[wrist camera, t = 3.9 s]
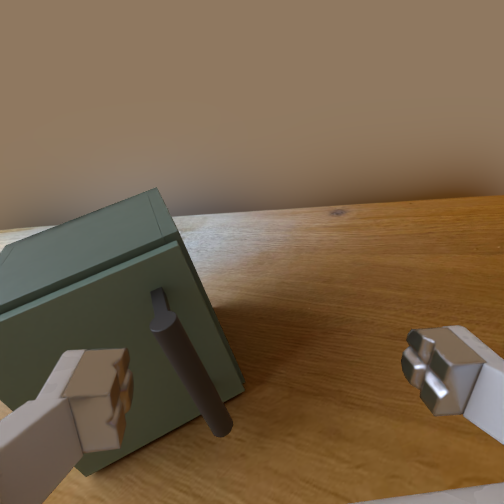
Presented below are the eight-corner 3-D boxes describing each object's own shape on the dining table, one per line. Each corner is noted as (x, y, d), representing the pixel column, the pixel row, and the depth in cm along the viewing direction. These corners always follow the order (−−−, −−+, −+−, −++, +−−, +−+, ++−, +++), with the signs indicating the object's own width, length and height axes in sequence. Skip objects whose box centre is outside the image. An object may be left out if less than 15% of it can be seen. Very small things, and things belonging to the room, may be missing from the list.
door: (265, 434, 27) (193, 277, 19) (81, 541, 24) (-105, 412, 16) (241, 383, 32) (176, 239, 24) (86, 466, 29) (-53, 336, 21)
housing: (245, 382, 33) (178, 230, 24) (89, 466, 30) (-56, 328, 21) (210, 307, 45) (156, 187, 36) (96, 362, 42) (5, 245, 32)
